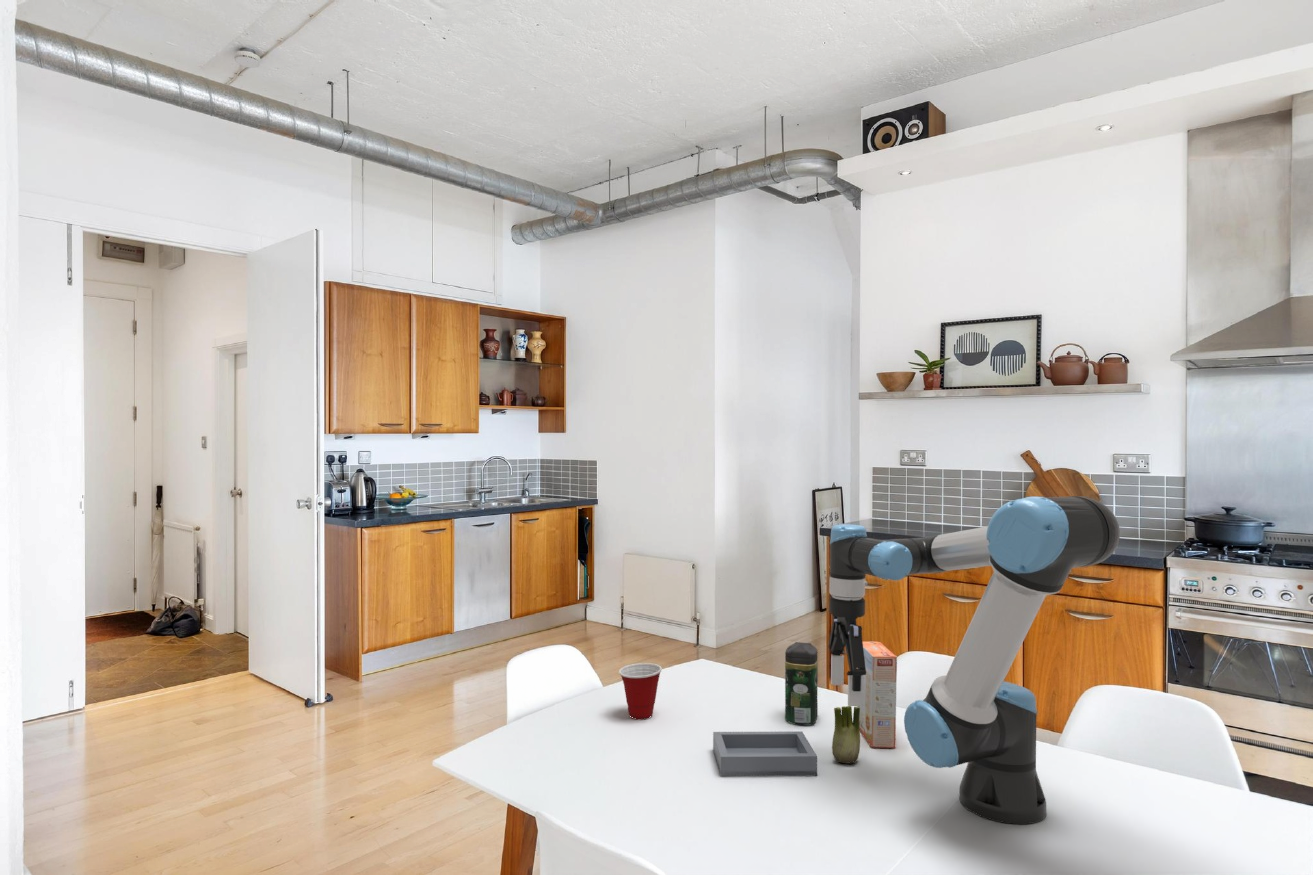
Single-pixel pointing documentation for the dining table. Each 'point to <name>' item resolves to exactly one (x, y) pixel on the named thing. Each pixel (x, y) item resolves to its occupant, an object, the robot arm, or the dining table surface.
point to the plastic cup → (640, 688)
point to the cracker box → (878, 696)
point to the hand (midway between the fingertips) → (845, 695)
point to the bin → (764, 754)
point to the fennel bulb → (846, 735)
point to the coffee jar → (801, 683)
